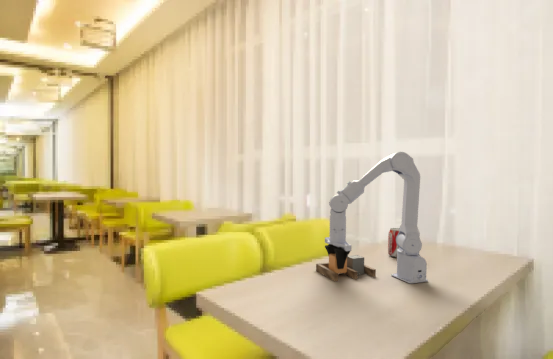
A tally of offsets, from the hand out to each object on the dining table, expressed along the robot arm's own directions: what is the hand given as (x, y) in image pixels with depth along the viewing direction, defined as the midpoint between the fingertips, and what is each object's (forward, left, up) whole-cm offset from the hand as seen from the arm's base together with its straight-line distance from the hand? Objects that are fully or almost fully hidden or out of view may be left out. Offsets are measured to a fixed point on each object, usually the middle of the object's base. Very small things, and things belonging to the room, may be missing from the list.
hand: (336, 266), depth 118 cm
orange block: (0, 0, -2) cm, 2 cm away
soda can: (+15, -40, -3) cm, 43 cm away
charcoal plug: (0, -8, -3) cm, 8 cm away
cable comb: (0, -4, -3) cm, 5 cm away
